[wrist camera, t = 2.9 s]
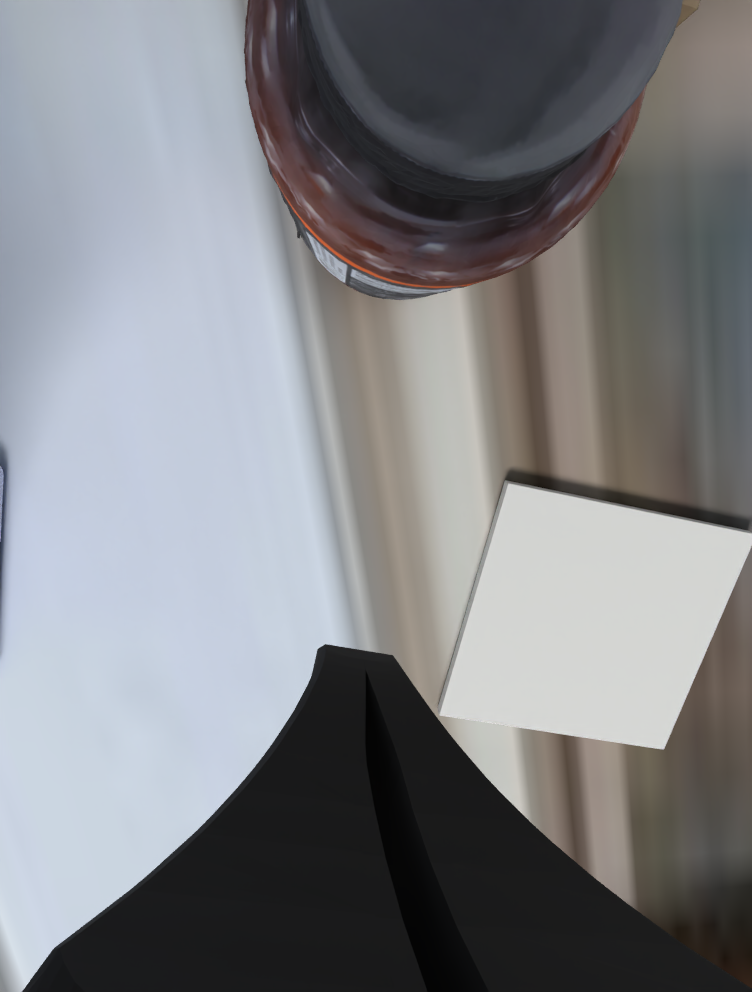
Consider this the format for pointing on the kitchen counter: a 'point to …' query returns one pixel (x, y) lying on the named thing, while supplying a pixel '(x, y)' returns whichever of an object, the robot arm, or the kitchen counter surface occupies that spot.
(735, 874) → the kitchen counter surface
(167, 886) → the robot arm
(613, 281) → the kitchen counter surface
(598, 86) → the supplement bottle
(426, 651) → the kitchen counter surface
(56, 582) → the kitchen counter surface
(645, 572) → the mat
